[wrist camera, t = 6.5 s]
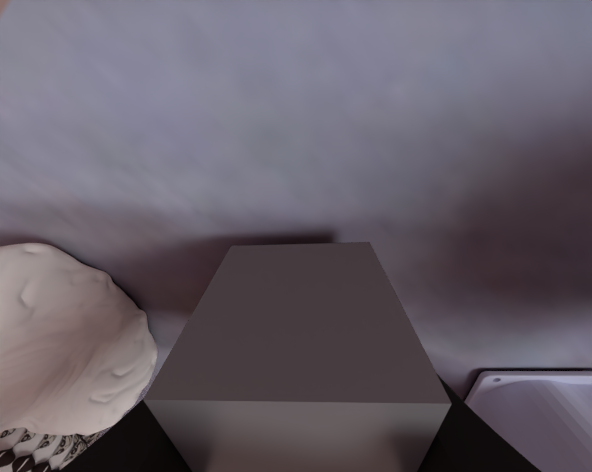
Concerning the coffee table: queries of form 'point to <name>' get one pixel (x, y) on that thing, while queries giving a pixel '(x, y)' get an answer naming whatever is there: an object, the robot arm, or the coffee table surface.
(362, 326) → the grey matte cube
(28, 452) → the decorative candle
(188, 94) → the coffee table surface
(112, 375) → the bust
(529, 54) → the coffee table surface
